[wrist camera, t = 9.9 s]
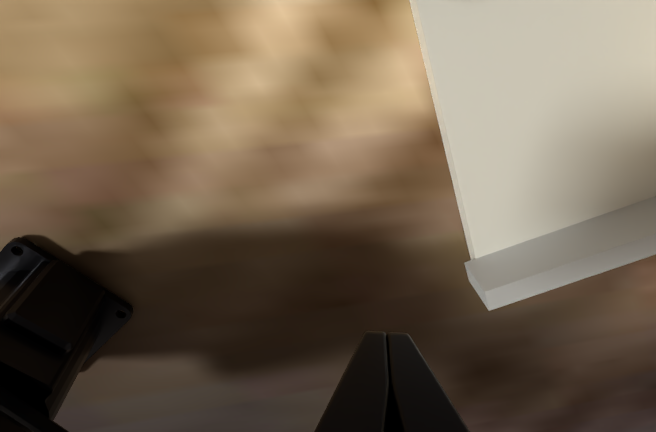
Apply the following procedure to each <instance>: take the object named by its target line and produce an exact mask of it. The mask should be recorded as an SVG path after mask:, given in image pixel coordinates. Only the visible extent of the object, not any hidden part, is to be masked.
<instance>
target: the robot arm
mask: <svg viewBox="0 0 656 432" xmlns="http://www.w3.org/2000/svg"><path fill="white" fill-rule="evenodd" d="M16 246H17V247H20V248H21V249H22V250H23V251H19V250H18V249H17V248H16ZM119 310H122V311H124V312H125V313H121V312H119ZM132 314H133V307H132V306H131V305H130V304H129V303H128V302H126V301H124V300H123V299H121V298H120V297H118V296H116V295H115V294H113V293H112V292H110V291H108V290H107V289H105V288H104V287H102V286H100V285H99V284H97V283H96V282H94V281H92V280H91V279H89V278H88V277H86V276H84V275H83V274H81V273H80V272H78V271H76V270H75V269H73V268H72V267H70V266H68V265H67V264H65V263H64V262H62V261H60V260H59V259H57V258H56V257H54V256H52V255H51V254H49V253H48V252H46V251H44V250H43V249H41V248H40V247H38V246H36V245H35V244H33V243H32V242H30V241H28V240H27V239H24V238H20V237H18V238H14V239H13V240H11V241H10V242H9V243H8V244H7V245H6V246H5V247H4V248H3V249H2V251H1V252H0V432H69V431H67V430H66V429H64V428H63V427H61V426H60V425H58V424H57V423H55V422H54V421H53V420H54V418H55V417H56V415H57V413H58V411H59V409H60V407H61V405H62V403H63V401H64V399H65V398H66V396H67V394H68V392H69V390H70V388H71V386H72V384H73V382H74V381H75V379H76V377H77V375H78V373H79V371H80V369H81V367H82V365H83V364H84V363H85V362H86V361H87V360H88V359H89V358H90V357H91V356H92V355H93V354H94V353H95V352H96V351H97V350H98V349H99V348H100V347H101V346H102V345H104V344H105V343H106V342H107V341H108V340H109V339H110V338H111V337H112V336H113V335H114V334H115V333H116V332H117V331H118V330H119V329H120V328H121V327H122V326H123V325H124V324H125V323H126V322H127V321H128V320H129V319H130V318H131V316H132ZM314 432H470V431H469V429H468V428H467V426H466V425H465V423H464V421H463V420H462V418H461V417H460V415H459V413H458V412H457V410H456V409H455V407H454V405H453V404H452V402H451V401H450V399H449V397H448V396H447V394H446V393H445V391H444V389H443V388H442V386H441V385H440V383H439V381H438V380H437V378H436V377H435V375H434V373H433V372H432V370H431V369H430V367H429V365H428V364H427V362H426V361H425V359H424V358H423V356H422V354H421V353H420V351H419V350H418V348H417V346H416V345H415V343H414V342H413V340H412V338H411V337H410V335H409V334H407V333H405V332H388V333H387V335H386V333H385V332H383V331H366V332H365V333H364V334H363V336H362V338H361V340H360V342H359V344H358V346H357V348H356V350H355V352H354V354H353V356H352V358H351V360H350V362H349V364H348V366H347V368H346V370H345V372H344V374H343V376H342V378H341V380H340V382H339V384H338V386H337V388H336V390H335V392H334V394H333V396H332V398H331V400H330V402H329V404H328V406H327V408H326V410H325V412H324V414H323V416H322V418H321V419H320V421H319V423H318V425H317V427H316V429H315V431H314Z"/></svg>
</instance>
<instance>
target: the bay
mask: <svg viewBox="0 0 656 432" xmlns="http://www.w3.org/2000/svg"><path fill="white" fill-rule="evenodd" d="M409 1H410V5H411V9H412V14H413V18H414V22H415V26H416V30H417V35H418V39H419V43H420V47H421V52H422V56H423V60H424V64H425V68H426V73H427V77H428V81H429V85H430V90H431V94H432V98H433V102H434V106H435V111H436V115H437V119H438V123H439V128H440V132H441V136H442V140H443V144H444V149H445V153H446V157H447V161H448V166H449V170H450V174H451V178H452V182H453V187H454V191H455V195H456V199H457V204H458V208H459V212H460V216H461V220H462V225H463V229H464V233H465V237H466V242H467V246H468V250H469V254H470V258H471V260H470V261H468V262H465V267H466V271H467V275H468V279H469V281H470V283H471V284H472V286H473V287H474V289H475V290H476V292H477V293H478V295H479V296H480V298H481V299H482V301H483V302H484V304H485V305H486V307H487V308H488V310H489V311H490V310H493V309H496V308H499V307H502V306H505V305H508V304H511V303H514V302H516V301H519V300H522V299H525V298H528V297H531V296H534V295H537V294H540V293H543V292H546V291H549V290H552V289H555V288H558V287H561V286H564V285H567V284H570V283H572V282H575V281H578V280H581V279H584V278H587V277H590V276H593V275H596V274H599V273H602V272H605V271H608V270H611V269H614V268H617V267H620V266H623V265H626V264H629V263H631V262H634V261H637V260H640V259H643V258H646V257H649V256H652V255H655V254H656V0H409Z"/></svg>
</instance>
